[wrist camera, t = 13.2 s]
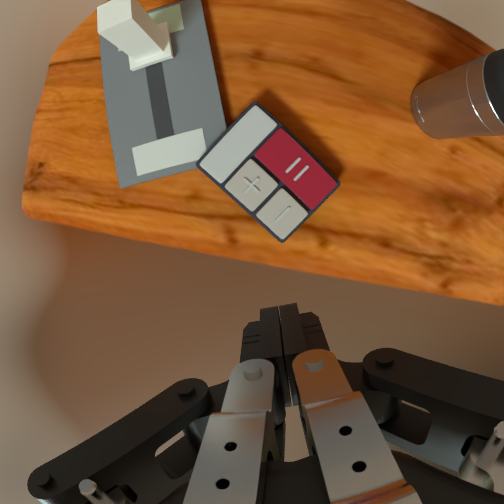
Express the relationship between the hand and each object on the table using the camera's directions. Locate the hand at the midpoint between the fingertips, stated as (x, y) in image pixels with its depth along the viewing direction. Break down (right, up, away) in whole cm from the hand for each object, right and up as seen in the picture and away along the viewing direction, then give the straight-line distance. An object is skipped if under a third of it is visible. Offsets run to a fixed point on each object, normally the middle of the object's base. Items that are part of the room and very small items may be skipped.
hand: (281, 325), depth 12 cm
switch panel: (-14, +26, +23) cm, 37 cm away
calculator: (+1, +14, +27) cm, 30 cm away
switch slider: (-15, +31, +20) cm, 40 cm away
